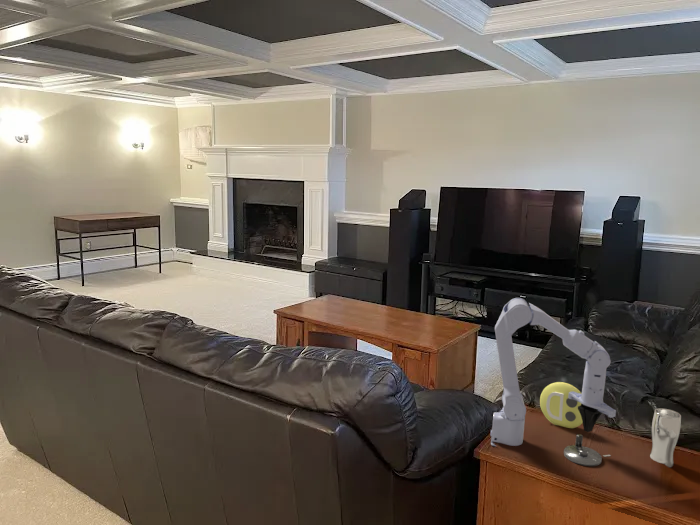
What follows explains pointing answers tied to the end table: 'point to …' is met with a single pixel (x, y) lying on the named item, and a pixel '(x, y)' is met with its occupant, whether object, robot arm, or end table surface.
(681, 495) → the end table surface
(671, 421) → the beer glass
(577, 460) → the cam dial
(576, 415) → the emoji
